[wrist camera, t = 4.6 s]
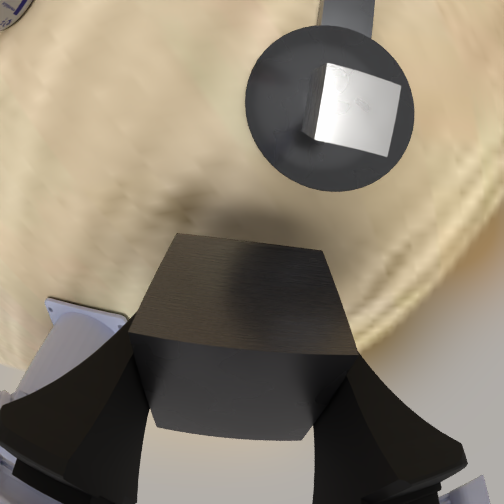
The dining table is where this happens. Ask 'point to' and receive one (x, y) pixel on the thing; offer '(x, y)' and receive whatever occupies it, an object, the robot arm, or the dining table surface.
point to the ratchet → (331, 101)
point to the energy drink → (12, 11)
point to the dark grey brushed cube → (241, 339)
